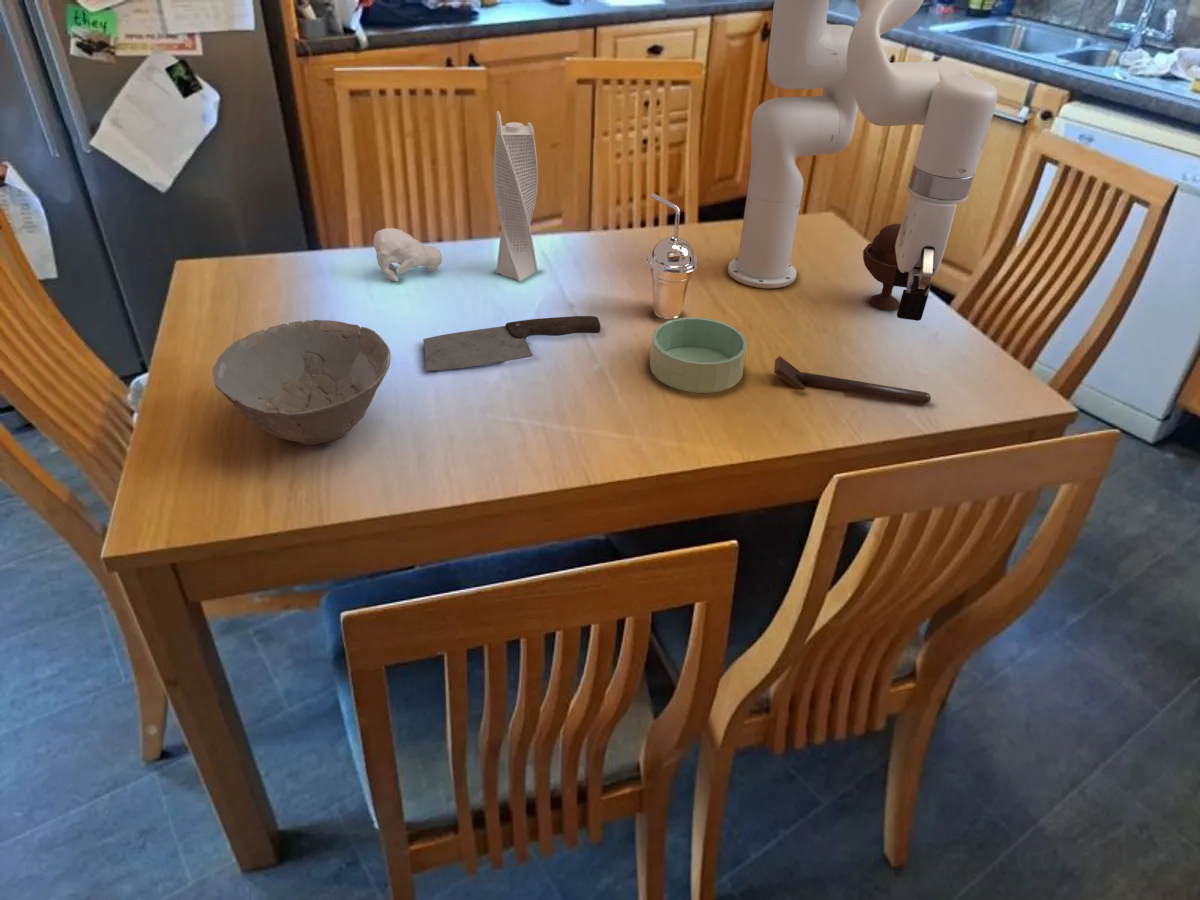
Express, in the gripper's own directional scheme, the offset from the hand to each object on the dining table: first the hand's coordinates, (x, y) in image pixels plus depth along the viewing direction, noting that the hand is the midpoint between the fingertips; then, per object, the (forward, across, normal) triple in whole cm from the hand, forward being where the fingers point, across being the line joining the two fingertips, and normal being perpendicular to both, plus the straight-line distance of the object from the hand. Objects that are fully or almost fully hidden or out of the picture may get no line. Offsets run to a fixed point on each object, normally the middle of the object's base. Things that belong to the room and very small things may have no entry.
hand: (905, 301), depth 124 cm
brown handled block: (+18, +1, -7) cm, 20 cm away
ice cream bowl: (+16, -31, +2) cm, 35 cm away
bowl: (+16, +1, -28) cm, 32 cm away
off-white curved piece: (+17, -19, -82) cm, 86 cm away
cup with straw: (+16, -16, -35) cm, 42 cm away
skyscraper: (+17, -25, -64) cm, 71 cm away
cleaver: (+16, +1, -57) cm, 59 cm away
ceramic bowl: (+16, +29, -77) cm, 83 cm away
